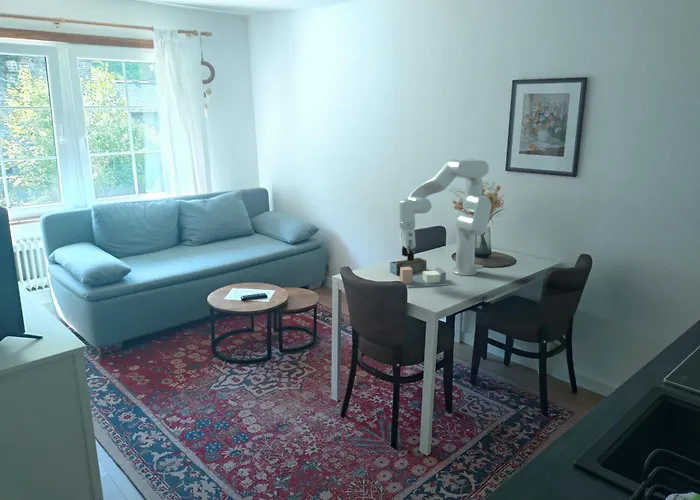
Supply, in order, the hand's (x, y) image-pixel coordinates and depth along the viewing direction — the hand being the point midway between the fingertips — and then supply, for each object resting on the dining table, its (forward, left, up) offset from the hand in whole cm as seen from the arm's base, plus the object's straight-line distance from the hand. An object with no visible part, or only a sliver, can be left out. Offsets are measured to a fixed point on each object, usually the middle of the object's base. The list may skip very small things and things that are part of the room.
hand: (407, 258), depth 265 cm
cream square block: (-14, 0, -13) cm, 19 cm away
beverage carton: (-6, -19, -13) cm, 24 cm away
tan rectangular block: (+1, 0, -13) cm, 13 cm away
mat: (-8, 0, -13) cm, 15 cm away
